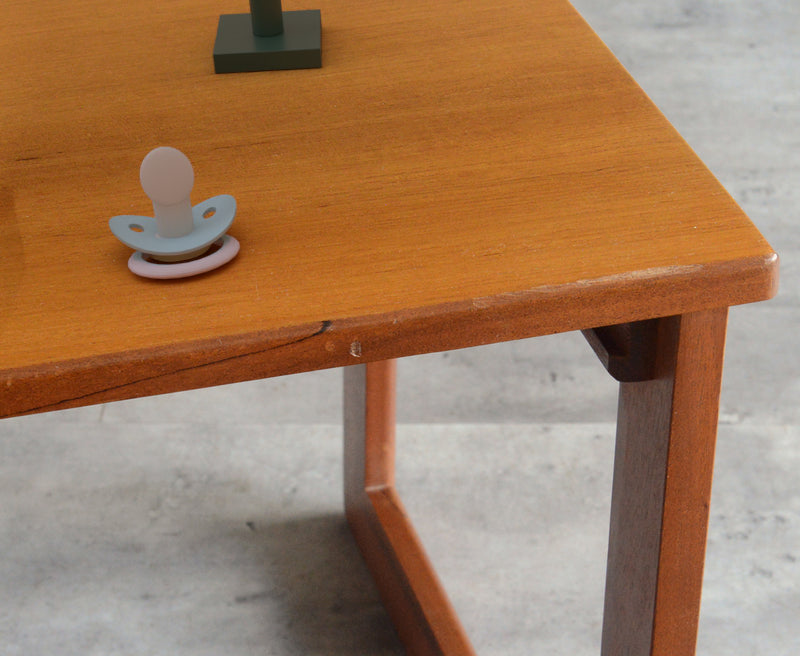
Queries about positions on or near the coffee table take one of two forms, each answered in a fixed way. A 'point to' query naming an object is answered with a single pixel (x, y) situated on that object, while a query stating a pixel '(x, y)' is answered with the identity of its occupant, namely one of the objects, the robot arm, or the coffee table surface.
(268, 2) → the stand
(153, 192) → the pacifier
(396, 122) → the coffee table surface
